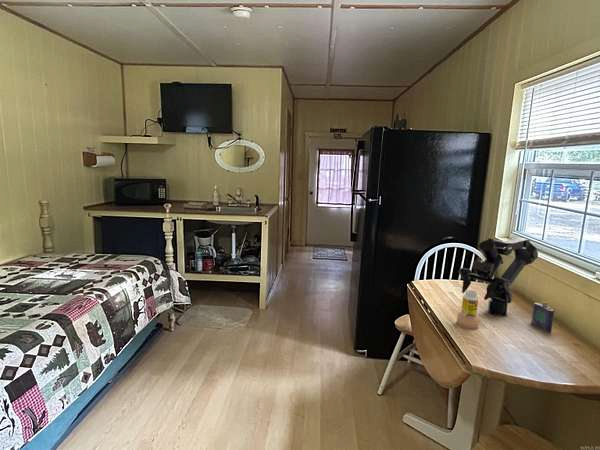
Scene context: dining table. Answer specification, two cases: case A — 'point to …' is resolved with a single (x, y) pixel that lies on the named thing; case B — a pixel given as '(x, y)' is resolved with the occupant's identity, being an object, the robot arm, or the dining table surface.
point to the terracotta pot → (467, 322)
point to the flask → (542, 316)
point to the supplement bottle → (469, 304)
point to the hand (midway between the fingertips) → (473, 295)
